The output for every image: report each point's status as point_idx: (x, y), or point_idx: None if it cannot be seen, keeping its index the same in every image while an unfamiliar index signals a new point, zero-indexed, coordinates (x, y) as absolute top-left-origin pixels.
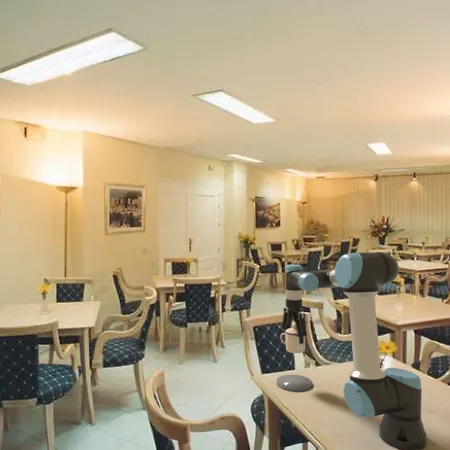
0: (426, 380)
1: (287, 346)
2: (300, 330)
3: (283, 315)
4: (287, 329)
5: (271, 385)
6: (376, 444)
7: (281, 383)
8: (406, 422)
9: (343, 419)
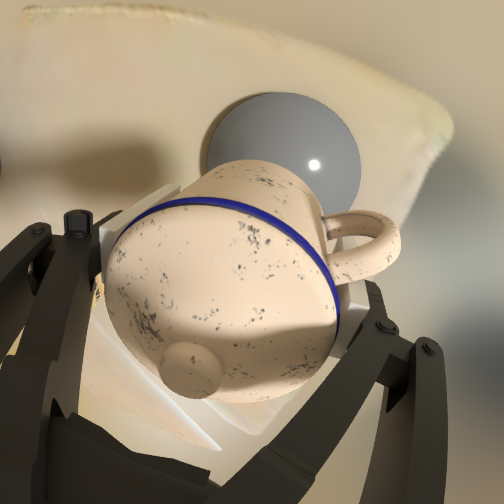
0: (114, 399)
1: (264, 169)
2: (20, 256)
3: (442, 494)
4: (298, 297)
5: (337, 83)
6: None
7: (302, 109)
8: None
9: (41, 110)
